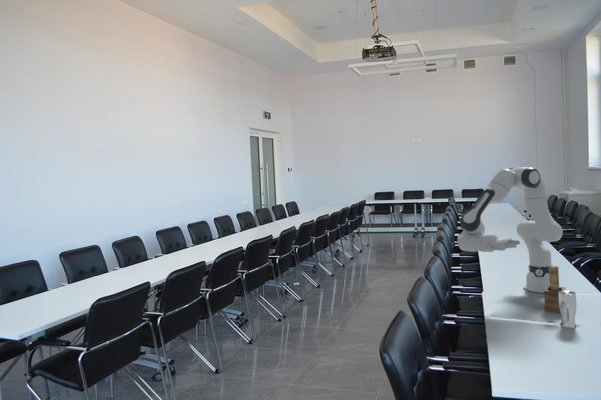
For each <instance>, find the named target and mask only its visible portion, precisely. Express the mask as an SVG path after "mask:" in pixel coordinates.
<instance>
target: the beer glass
mask: <svg viewBox="0 0 601 400" xmlns="http://www.w3.org/2000/svg"><path fill="white" fill-rule="evenodd" d="M577 305H578V304H577V294H576V292H575V291H572V290H565V291H560V292H559V308H560V312H561V313H560V315H561V319H560V320H561V321H560V327H562V328H565V329H575V328H577V323H576V313H577V312H576V311H577V307H578V306H577Z"/></svg>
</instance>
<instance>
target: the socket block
mask: <svg viewBox="0 0 601 400" xmlns="http://www.w3.org/2000/svg"><path fill="white" fill-rule="evenodd" d="M560 291H566V287H565V286H563V287H562V286H559V291H551V290H550V286H547V287H546V289H545V290H544V293H543V297H544V312H547V313H557V314H561V312H560V308H559V292H560Z"/></svg>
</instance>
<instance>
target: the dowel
mask: <svg viewBox="0 0 601 400" xmlns="http://www.w3.org/2000/svg"><path fill="white" fill-rule="evenodd" d="M559 271H560V270H559V266H557V265H552V266H549V277H550V290H551V291H559V287H560V277H559V276H560V275H559V274H560V273H559Z"/></svg>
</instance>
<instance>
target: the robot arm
mask: <svg viewBox="0 0 601 400" xmlns="http://www.w3.org/2000/svg"><path fill="white" fill-rule="evenodd" d="M544 183H545V182H544V180H543V179H542V178H541V174H540V172H539V171H538V169H537V168H534V167H531V166H530V167H529V166H528V167H525V166H520V167H511V168H501V169H500V170H499V171H497V172H496V173H495V175H494V176H493V177H492V179H491V180H490V181H489V184H488V185H487V187H486V188H485V189H483V191H482V192H481V193H480V194H479V196H478V197H477V199H476V200H475V202H474V203H473V204H472V205H471V207H470V208H469V209H468V210H466V211H465V212H464V213H463V214H462V215H461V216H460V219H459V224H460V226H461V228H463V230H462V232H461V233H460V234H459V235H458V236H457V238H456V242H457V246H458V248H459V250H461V251H464V252H481V253H482V252H483V253H493V252H494V251H505V250H506V249H513V248H517V245H520V244H521V241H520V240H514V239H512V237H509V236H497V235H496V234H495V235H494V234H485V230H486V228H485V227H486V226H485V225H484V223H483V222H482V219H481V218H482V214H483V213H484V212H485V210H486V208H488V206H489V205H490V204H492V203H493V204H499V203H502V202H503V201H505V199H506V197H507V196H508V195H509V193H510V191H511V190H512V188H520V189H521V188H522V189H523V192H524V194H523V195H524V204H525V211H526V213H527V214H528V215H530V216H531V217H532V219H533V220H523V221H520V222H519V223H517V227H516V234H517V235H518V237H520V238H521V239H522V240H523V242H524V244H525V246H526V248H527V251H528V259H529V265H528V271H529V272H528V273H527V274H526V275H525V276H526V278H525V279H526V281H525V282H526V283H525V285H524V286H522V287H523V290H526V291H529V292H532V293H540V294H542V293H543V294H544V290H545V289H546V287H547V286H550V277H549V266H553V264H552V252H551V250H550V249H549V248H548V247H546V246H545V244H544V242H547V243H548V242H549V243H550V242H552V243H553V242H557V241H559V240H561V239H562V237H563V232H564V231H563V228H562V226H561V224H559V223H558V222H557V221H555V219H554V218H553V217H552V215H551V212H550V209H549V206H548V199H547V198H548V197H547V190H546V186H545V184H544Z"/></svg>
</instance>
